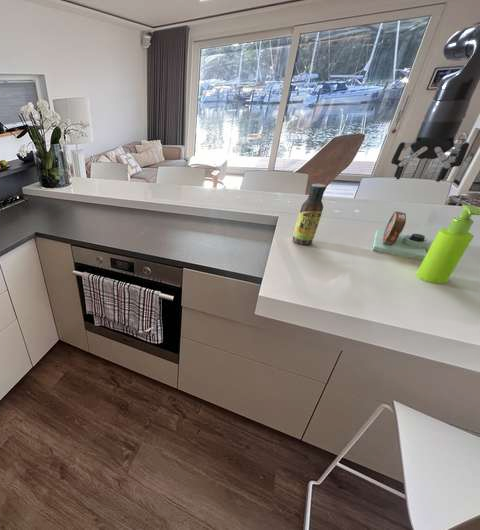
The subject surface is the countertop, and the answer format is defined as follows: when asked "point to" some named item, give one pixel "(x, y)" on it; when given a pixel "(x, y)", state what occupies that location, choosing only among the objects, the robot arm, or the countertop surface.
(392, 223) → the tin
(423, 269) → the soap dispenser
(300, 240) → the sauce bottle
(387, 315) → the countertop surface
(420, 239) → the tare button
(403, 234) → the scale
